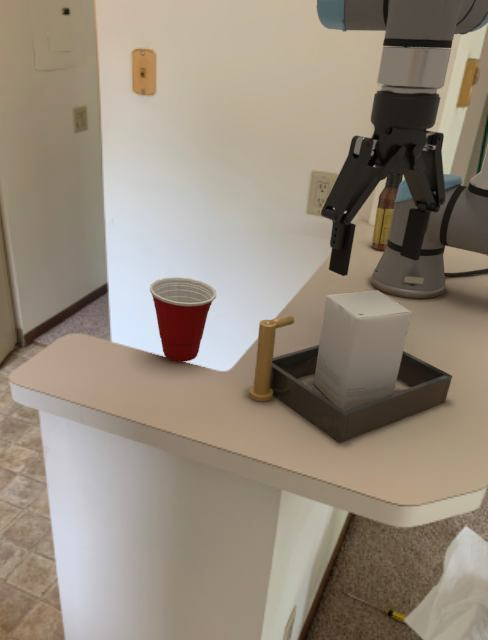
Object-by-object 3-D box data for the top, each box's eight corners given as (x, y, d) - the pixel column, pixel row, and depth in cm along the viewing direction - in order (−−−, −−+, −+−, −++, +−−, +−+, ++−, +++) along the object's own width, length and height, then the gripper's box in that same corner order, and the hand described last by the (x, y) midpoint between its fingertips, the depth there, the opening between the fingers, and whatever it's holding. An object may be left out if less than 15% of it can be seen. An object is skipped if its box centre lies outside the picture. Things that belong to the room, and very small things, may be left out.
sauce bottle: (400, 248, 157) (417, 167, 147) (388, 253, 153) (404, 170, 143) (377, 242, 161) (392, 163, 150) (365, 247, 157) (379, 166, 147)
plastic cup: (207, 373, 98) (210, 303, 92) (142, 365, 100) (141, 296, 94) (218, 344, 107) (222, 279, 101) (158, 337, 109) (158, 273, 103)
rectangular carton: (393, 405, 91) (415, 312, 83) (339, 413, 89) (356, 318, 81) (362, 376, 98) (379, 288, 91) (311, 383, 96) (324, 293, 88)
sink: (360, 355, 105) (373, 287, 98) (445, 401, 92) (466, 327, 86) (242, 391, 94) (248, 317, 87) (320, 450, 81) (333, 369, 74)
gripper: (451, 85, 80) (415, 244, 91) (306, 89, 69) (285, 270, 80) (502, 90, 75) (457, 259, 86) (354, 95, 63) (325, 288, 74)
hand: (374, 265), depth 83 cm, fingers open, 13 cm apart
